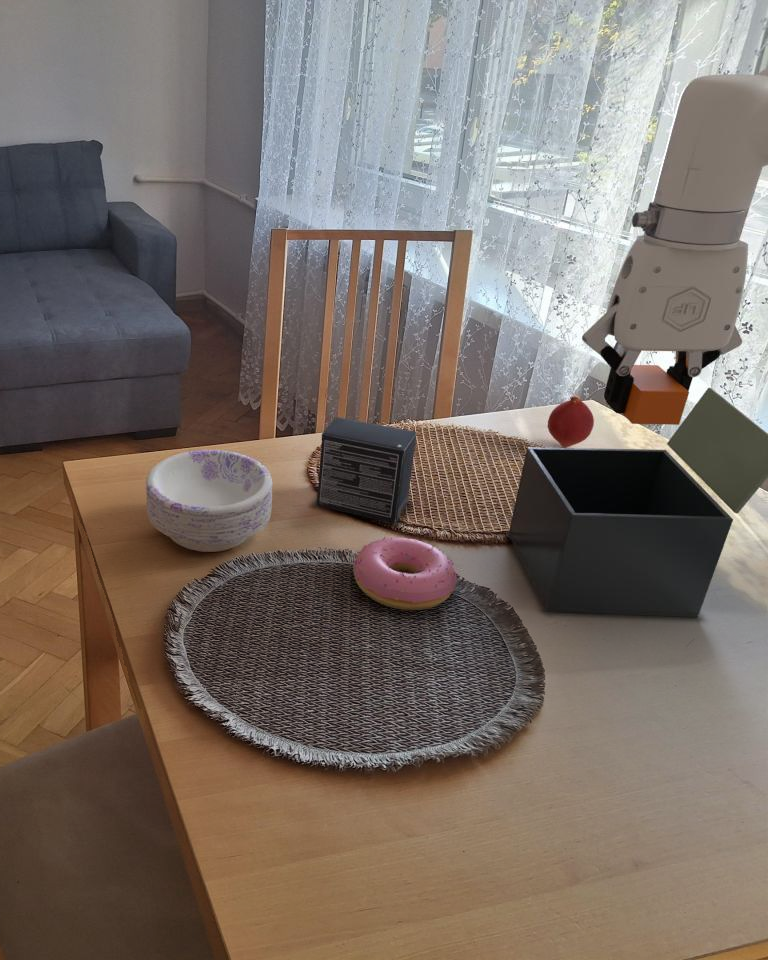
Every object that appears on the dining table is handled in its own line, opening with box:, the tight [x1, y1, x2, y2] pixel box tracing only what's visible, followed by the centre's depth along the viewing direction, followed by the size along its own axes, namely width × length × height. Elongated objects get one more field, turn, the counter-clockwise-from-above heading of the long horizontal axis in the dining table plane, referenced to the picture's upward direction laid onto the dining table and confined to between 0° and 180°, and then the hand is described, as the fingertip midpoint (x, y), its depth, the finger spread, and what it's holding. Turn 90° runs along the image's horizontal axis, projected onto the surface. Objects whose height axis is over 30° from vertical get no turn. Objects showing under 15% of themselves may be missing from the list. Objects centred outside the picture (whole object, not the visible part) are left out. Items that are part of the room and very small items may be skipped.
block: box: [621, 364, 690, 426], centre depth 86 cm, size 4×7×4 cm, turn 174°
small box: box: [315, 417, 418, 525], centre depth 109 cm, size 11×6×10 cm, turn 59°
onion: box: [547, 395, 595, 448], centre depth 122 cm, size 6×6×8 cm
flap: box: [666, 387, 768, 515], centre depth 88 cm, size 7×15×1 cm
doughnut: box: [352, 536, 458, 611], centre depth 95 cm, size 11×11×4 cm
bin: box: [507, 446, 734, 618], centre depth 94 cm, size 15×15×12 cm
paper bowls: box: [145, 449, 273, 553], centre depth 105 cm, size 15×15×8 cm
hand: (641, 406), depth 87 cm, fingers closed on block, 4 cm apart
